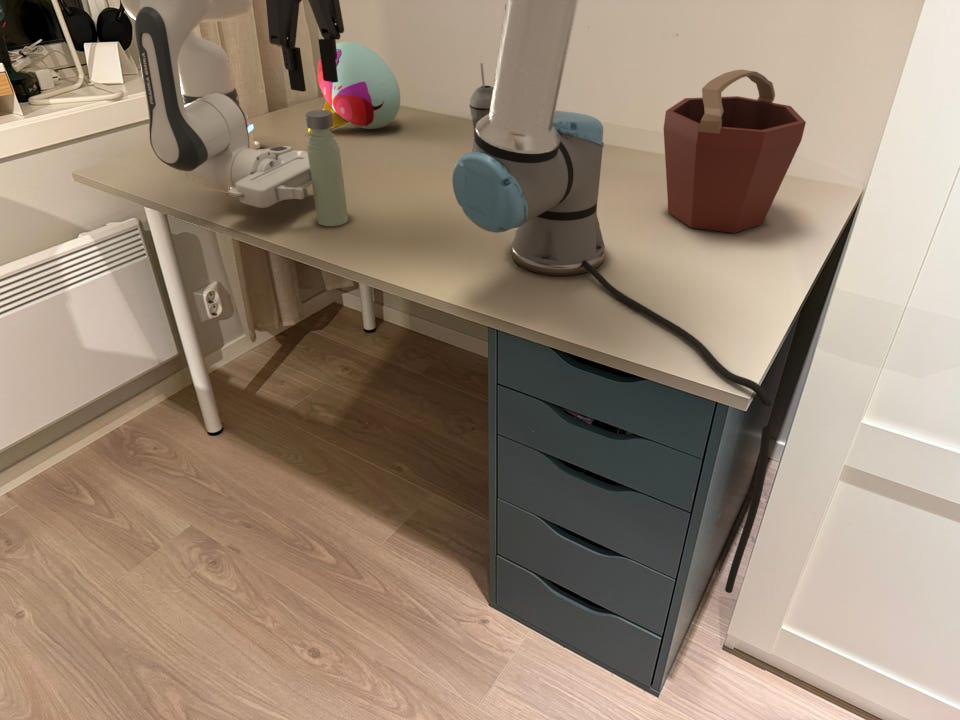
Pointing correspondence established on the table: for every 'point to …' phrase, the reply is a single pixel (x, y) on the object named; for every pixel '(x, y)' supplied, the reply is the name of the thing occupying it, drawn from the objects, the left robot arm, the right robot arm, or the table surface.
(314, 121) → the cap
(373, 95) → the toy
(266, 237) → the table surface
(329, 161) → the bottle
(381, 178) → the table surface
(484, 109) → the beverage cup
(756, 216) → the bucket
